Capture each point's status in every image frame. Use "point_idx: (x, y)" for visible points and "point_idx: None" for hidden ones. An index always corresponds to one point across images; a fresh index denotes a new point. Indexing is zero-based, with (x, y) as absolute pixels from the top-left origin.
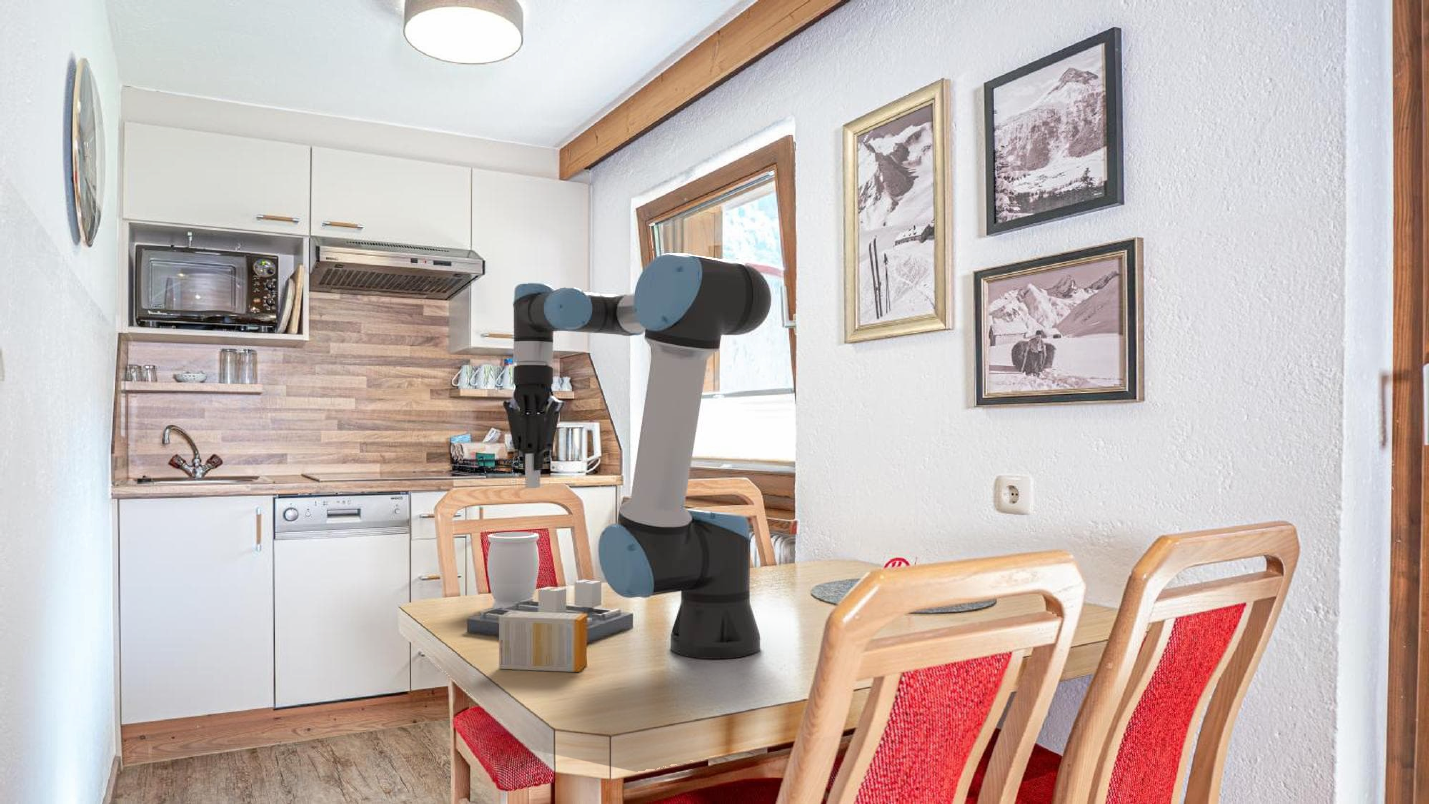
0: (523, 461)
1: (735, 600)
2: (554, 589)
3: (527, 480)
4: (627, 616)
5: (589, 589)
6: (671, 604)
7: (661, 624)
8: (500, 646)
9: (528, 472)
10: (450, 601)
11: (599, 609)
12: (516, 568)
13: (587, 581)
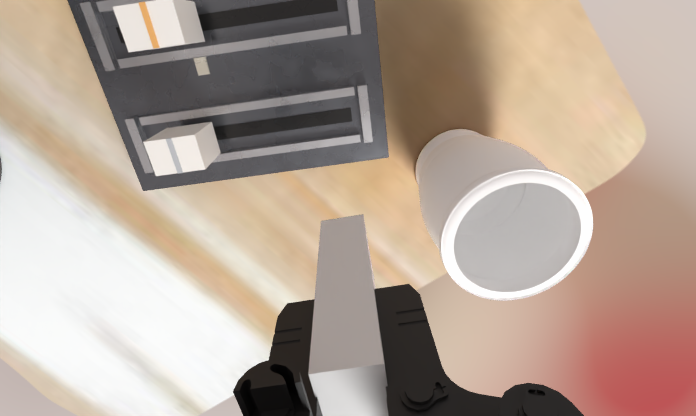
0: (418, 325)
1: None
2: (137, 22)
3: (349, 237)
4: (137, 172)
5: (158, 137)
6: (247, 333)
7: (137, 223)
8: None
9: (342, 265)
10: (614, 138)
11: None
12: (437, 168)
13: (170, 151)
